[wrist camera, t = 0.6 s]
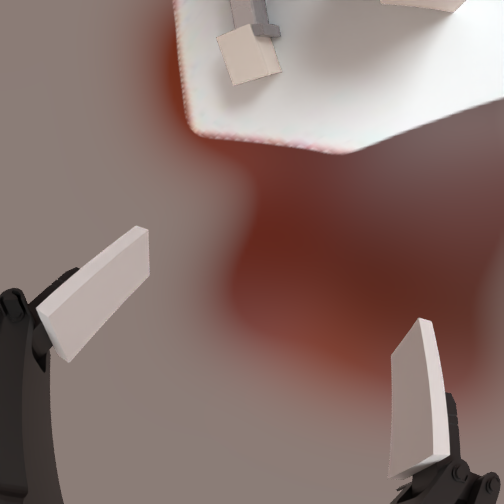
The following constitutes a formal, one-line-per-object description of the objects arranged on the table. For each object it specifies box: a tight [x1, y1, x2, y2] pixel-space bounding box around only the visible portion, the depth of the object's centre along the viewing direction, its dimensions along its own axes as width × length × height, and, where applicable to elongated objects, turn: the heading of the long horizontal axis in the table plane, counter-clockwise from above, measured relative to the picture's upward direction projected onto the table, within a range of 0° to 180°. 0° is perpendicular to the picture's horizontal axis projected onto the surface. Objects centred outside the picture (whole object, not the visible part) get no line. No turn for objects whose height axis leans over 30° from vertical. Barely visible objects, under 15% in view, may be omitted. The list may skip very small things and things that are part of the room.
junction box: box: [216, 24, 282, 86], centre depth 27 cm, size 6×4×5 cm
